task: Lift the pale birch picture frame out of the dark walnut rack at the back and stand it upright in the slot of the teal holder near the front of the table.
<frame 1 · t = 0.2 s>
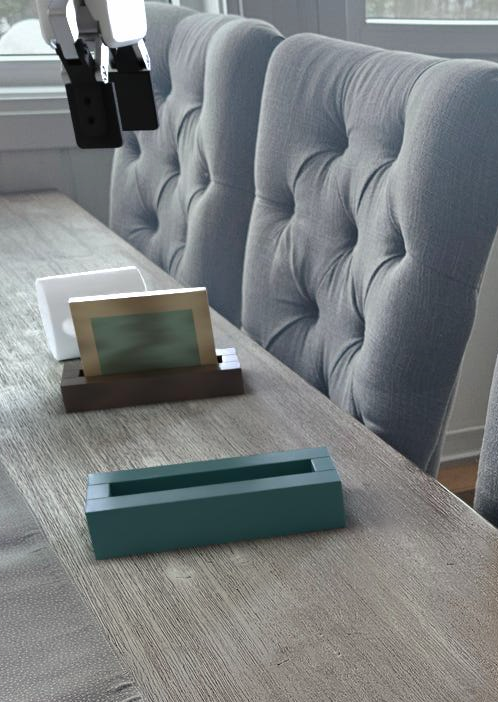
hand: (121, 138, 82), 23 cm above the table, tool pointing down, fingers open, 9 cm apart
white bread box: (108, 358, 116), on the table
rack: (156, 392, 106), on the table
frame: (147, 344, 103), in the rack
holder: (220, 523, 80), on the table
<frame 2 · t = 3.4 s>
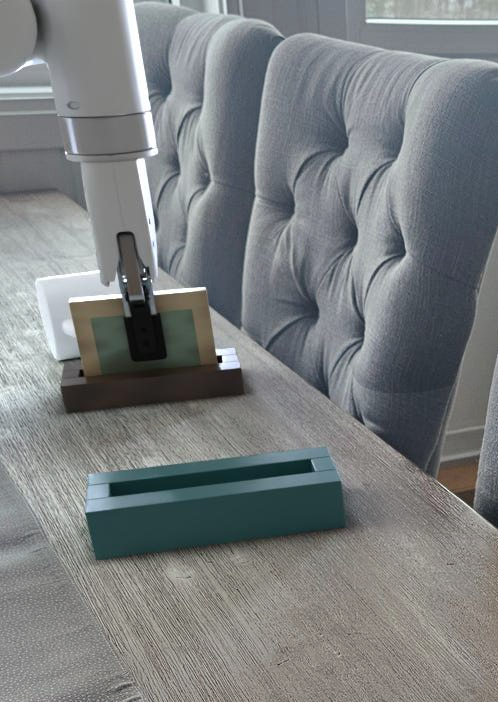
hand: (149, 355, 104), 4 cm above the table, tool pointing down, fingers closed on frame, 1 cm apart
frame: (147, 344, 103), in the rack, touching gripper
everything else where it was.
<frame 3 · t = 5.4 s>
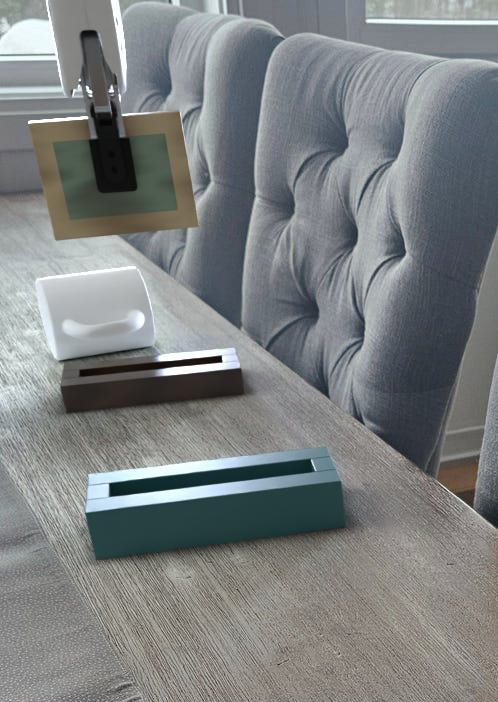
hand: (117, 188, 94), 18 cm above the table, tool pointing down, fingers closed on frame, 1 cm apart
frame: (116, 175, 94), point 19 cm above the table, touching gripper
everything else where it was.
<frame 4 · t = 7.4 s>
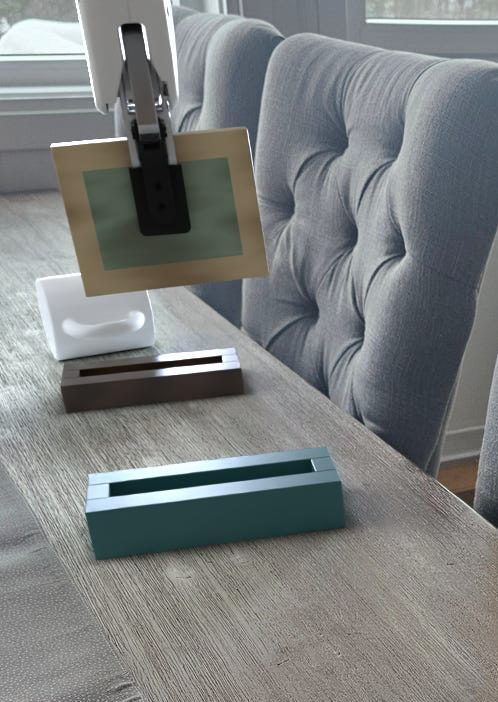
hand: (165, 228, 73), 19 cm above the table, tool pointing down, fingers closed on frame, 1 cm apart
frame: (165, 212, 72), point 20 cm above the table, touching gripper
everything else where it was.
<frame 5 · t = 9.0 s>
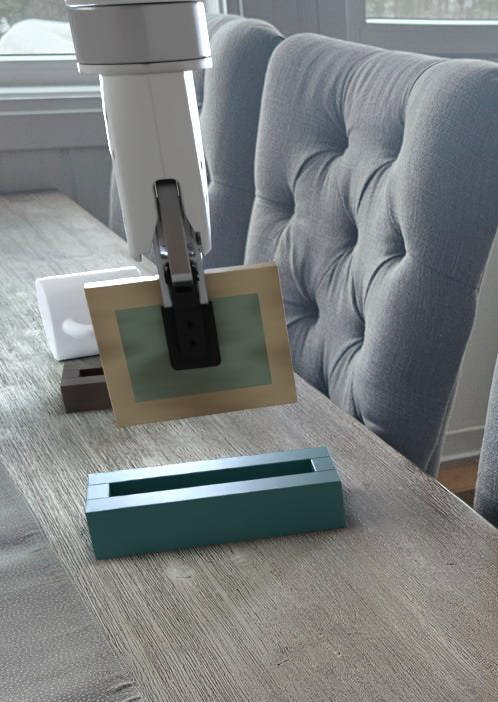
hand: (195, 360, 74), 12 cm above the table, tool pointing down, fingers closed on frame, 1 cm apart
frame: (195, 345, 73), point 13 cm above the table, touching gripper
everything else where it was.
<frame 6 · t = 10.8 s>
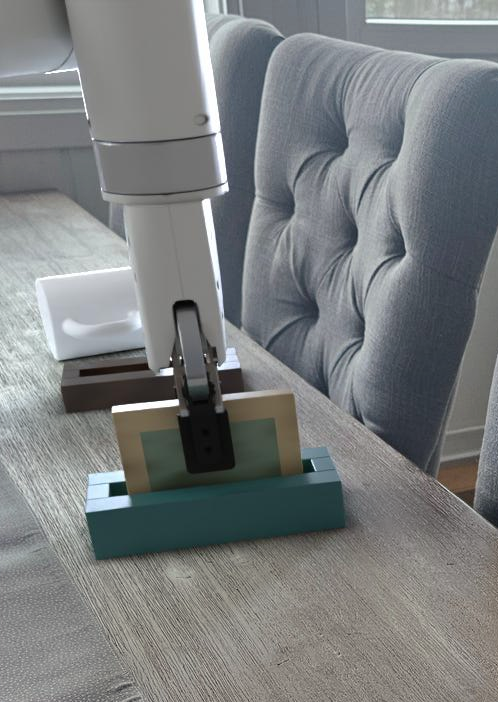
hand: (208, 452, 77), 5 cm above the table, tool pointing down, fingers open, 5 cm apart
frame: (213, 462, 78), in the holder
everything else where it was.
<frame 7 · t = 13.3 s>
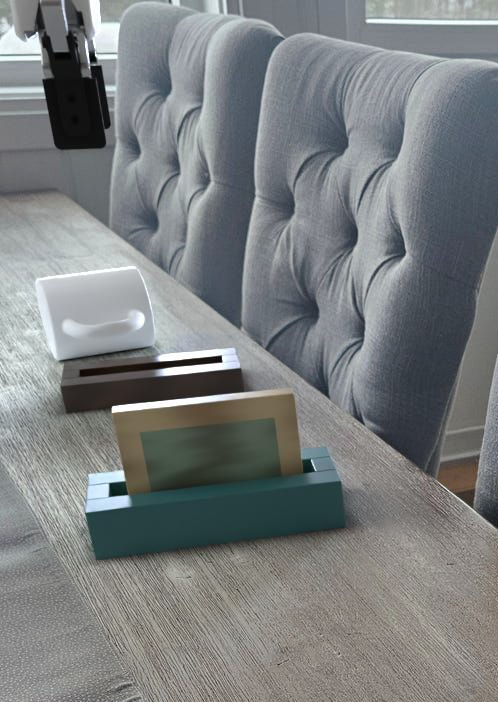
hand: (85, 138, 76), 24 cm above the table, tool pointing down, fingers open, 9 cm apart
nothing on the table moved.
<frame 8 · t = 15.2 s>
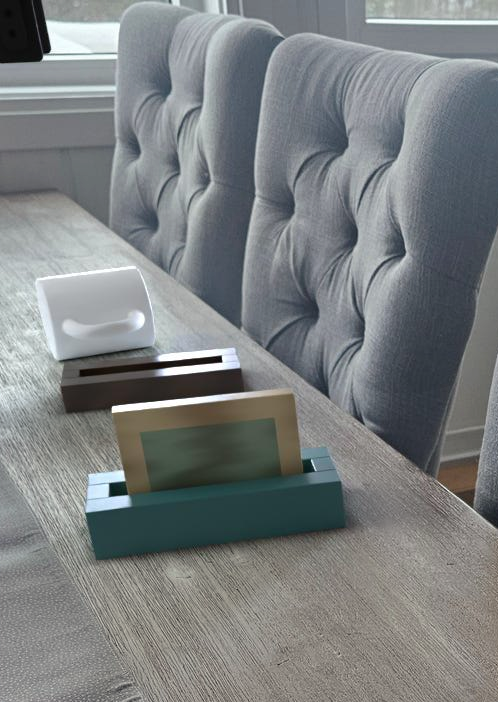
hand: (25, 58, 82), 28 cm above the table, tool pointing down, fingers open, 9 cm apart
nothing on the table moved.
at the end: frame 0.2 cm off-centre on the holder, point 4.5 cm above the holder's base; frame tilted 0°; the gripper is holding nothing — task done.
